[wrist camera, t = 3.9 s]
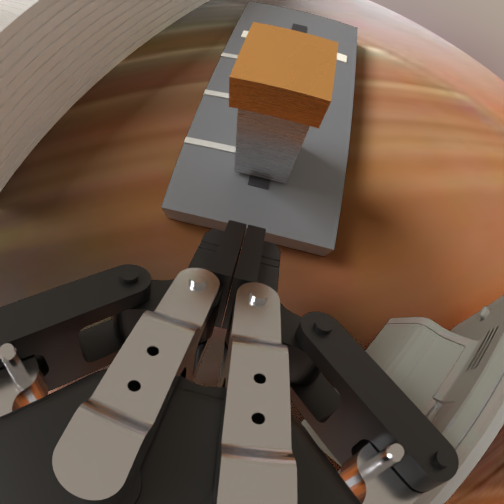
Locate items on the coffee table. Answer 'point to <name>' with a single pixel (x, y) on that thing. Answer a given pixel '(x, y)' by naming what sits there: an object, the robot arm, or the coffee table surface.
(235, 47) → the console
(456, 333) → the digital clock
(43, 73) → the stack of papers
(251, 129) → the fader
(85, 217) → the coffee table surface
